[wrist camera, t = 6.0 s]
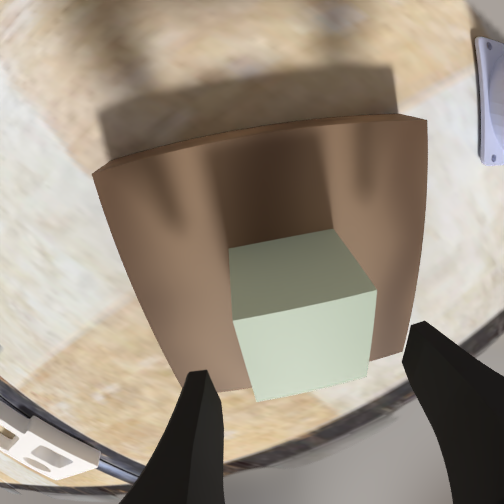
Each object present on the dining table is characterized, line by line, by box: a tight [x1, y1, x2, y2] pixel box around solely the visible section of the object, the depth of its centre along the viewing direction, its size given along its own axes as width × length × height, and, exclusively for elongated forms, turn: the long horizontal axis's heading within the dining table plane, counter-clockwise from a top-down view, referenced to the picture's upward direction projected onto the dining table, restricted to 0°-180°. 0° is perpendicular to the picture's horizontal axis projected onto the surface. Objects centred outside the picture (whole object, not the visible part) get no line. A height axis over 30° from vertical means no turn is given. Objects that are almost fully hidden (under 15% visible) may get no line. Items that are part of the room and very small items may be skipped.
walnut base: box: [92, 114, 428, 392], centre depth 15 cm, size 14×14×2 cm
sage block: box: [229, 229, 377, 402], centre depth 12 cm, size 4×4×4 cm
